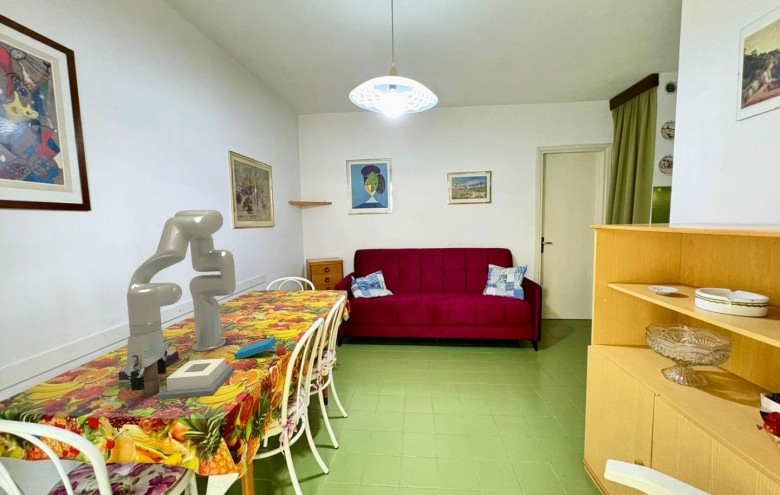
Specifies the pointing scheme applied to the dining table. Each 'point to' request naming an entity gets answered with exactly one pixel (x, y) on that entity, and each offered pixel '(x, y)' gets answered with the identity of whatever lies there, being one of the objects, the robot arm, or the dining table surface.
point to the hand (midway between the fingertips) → (150, 381)
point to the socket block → (196, 379)
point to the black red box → (171, 358)
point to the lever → (259, 348)
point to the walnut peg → (151, 380)
